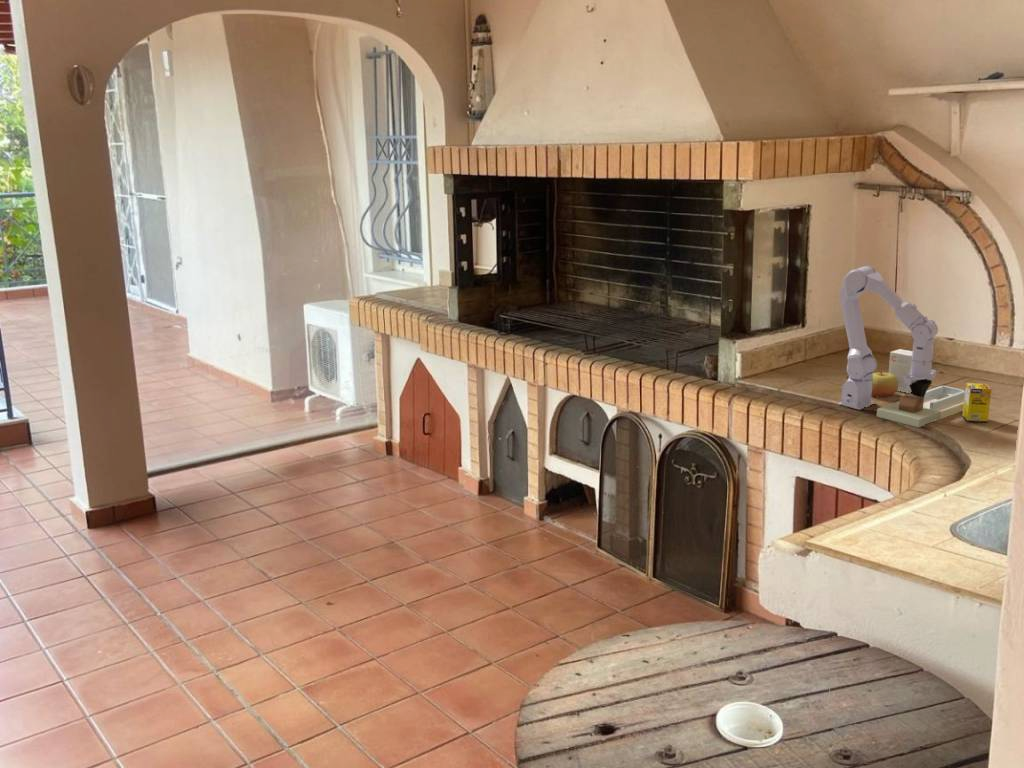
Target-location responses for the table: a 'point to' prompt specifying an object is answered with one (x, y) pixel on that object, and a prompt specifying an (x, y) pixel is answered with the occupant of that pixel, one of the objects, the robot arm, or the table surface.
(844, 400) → the robot arm
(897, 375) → the small box
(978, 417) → the supplement box
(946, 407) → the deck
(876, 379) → the apple
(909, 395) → the block
